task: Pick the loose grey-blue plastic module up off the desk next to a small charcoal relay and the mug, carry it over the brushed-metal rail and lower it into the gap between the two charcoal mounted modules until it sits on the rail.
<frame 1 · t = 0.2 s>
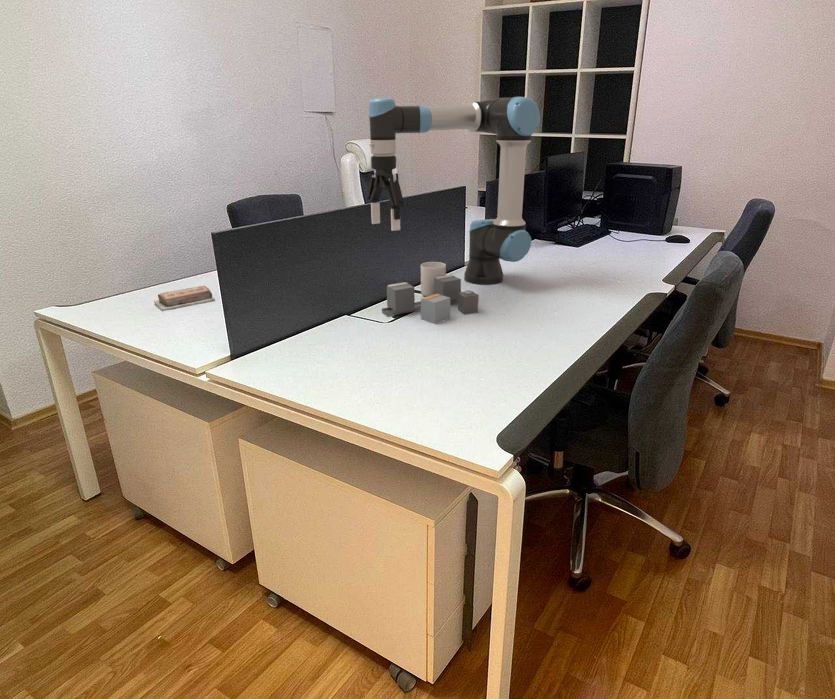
hand: (385, 226, 175), 27 cm above the table, fingers open, 13 cm apart
relay: (467, 311, 184), on the table
rail: (424, 307, 189), on the table
module: (435, 319, 178), on the table
mounted modules: (424, 292, 187), on the rail, point 5 cm above the table
mug: (432, 294, 203), on the table
packaged product: (185, 304, 197), on the table
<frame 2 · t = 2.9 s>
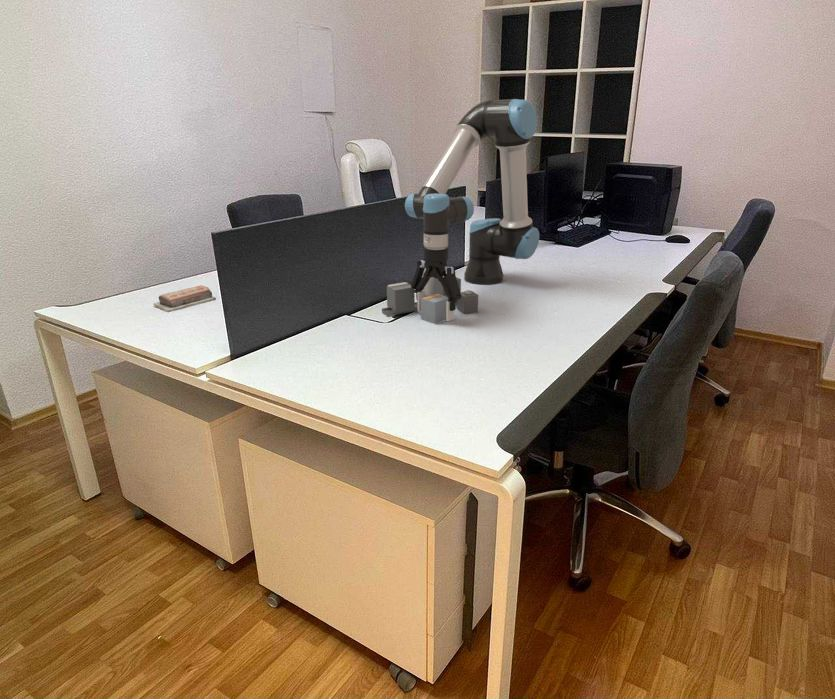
hand: (435, 315, 177), 1 cm above the table, fingers open, 12 cm apart
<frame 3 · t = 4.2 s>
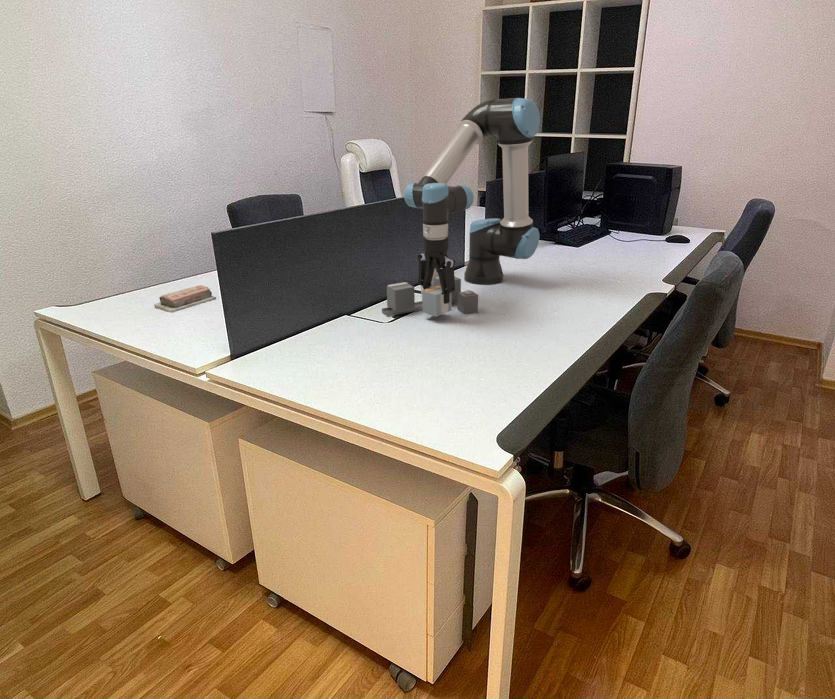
hand: (436, 310, 177), 3 cm above the table, fingers closed on module, 6 cm apart
module: (437, 311, 177), point 2 cm above the table, touching gripper
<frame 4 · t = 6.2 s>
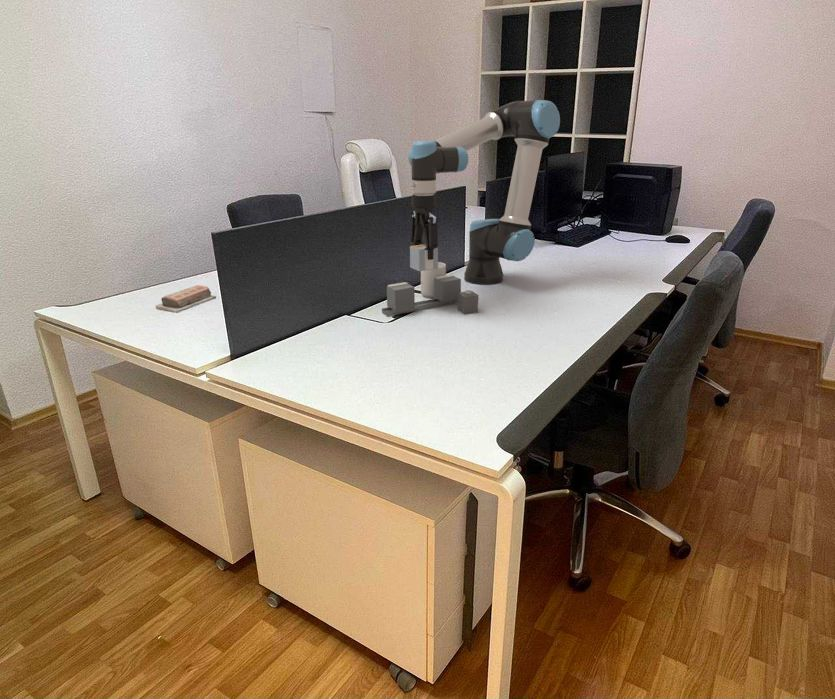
hand: (423, 266, 183), 14 cm above the table, fingers closed on module, 6 cm apart
module: (423, 268, 183), point 13 cm above the table, touching gripper
when the fingers open (3 cm above the table, at t = 8.0 s): module stays where it is, resting on rail.
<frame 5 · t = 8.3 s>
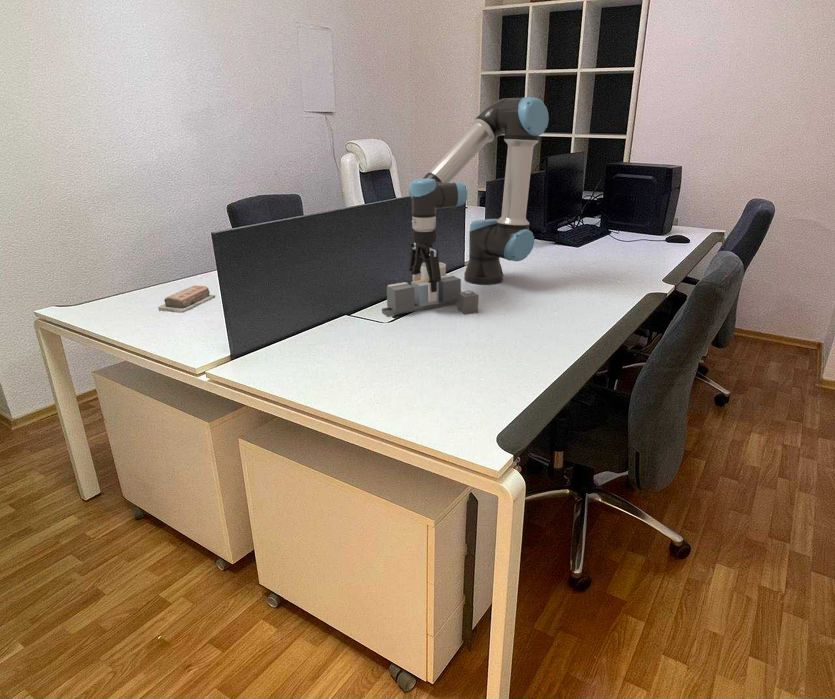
hand: (424, 296, 187), 4 cm above the table, fingers open, 9 cm apart
module: (424, 302, 188), point 2 cm above the table, touching rail
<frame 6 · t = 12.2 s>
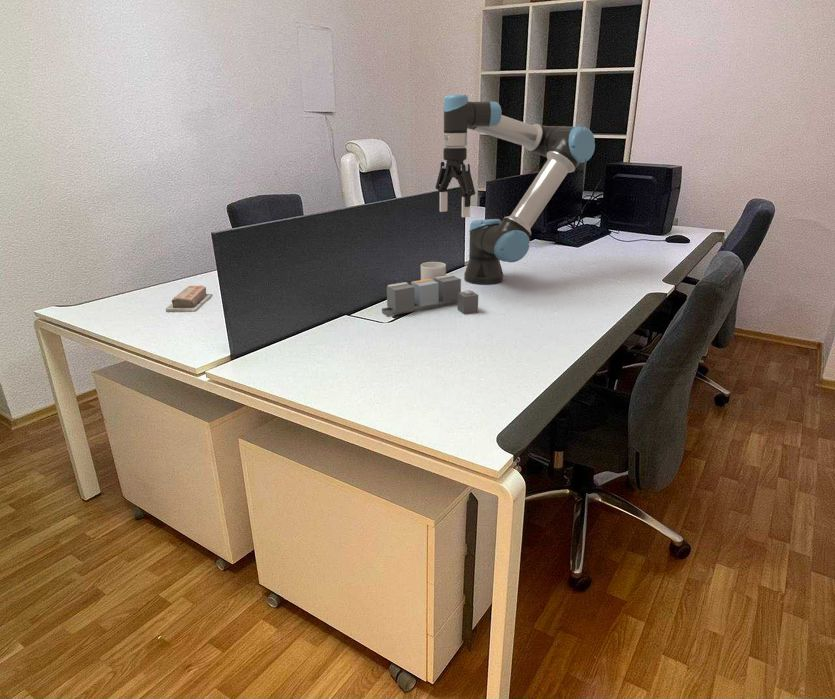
hand: (454, 214, 189), 29 cm above the table, fingers open, 13 cm apart
at the end: module 0.2 cm off-centre on the rail, point 1.6 cm above the rail's base; module tilted 0°; the gripper is holding nothing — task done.
